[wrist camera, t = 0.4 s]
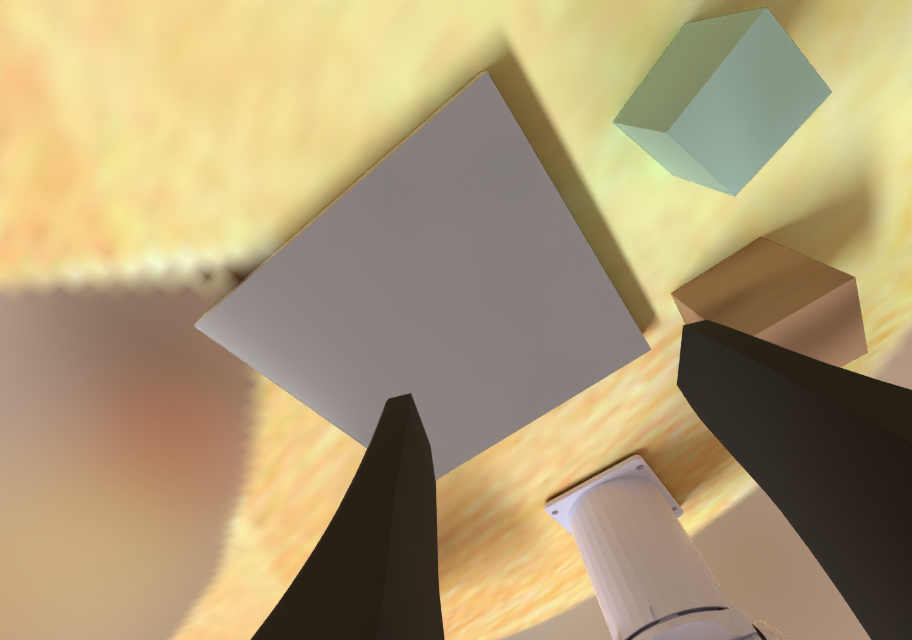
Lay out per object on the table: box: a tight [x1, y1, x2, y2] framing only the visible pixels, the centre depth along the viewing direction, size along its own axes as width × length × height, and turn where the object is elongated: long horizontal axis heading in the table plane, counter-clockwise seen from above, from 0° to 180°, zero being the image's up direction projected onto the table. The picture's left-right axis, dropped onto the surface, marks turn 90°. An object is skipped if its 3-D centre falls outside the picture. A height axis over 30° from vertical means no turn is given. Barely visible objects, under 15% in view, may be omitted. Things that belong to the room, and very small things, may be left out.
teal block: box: [613, 7, 832, 197], centre depth 15 cm, size 4×4×4 cm
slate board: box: [194, 71, 651, 480], centre depth 20 cm, size 16×16×1 cm
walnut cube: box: [671, 237, 868, 367], centre depth 20 cm, size 5×5×5 cm
